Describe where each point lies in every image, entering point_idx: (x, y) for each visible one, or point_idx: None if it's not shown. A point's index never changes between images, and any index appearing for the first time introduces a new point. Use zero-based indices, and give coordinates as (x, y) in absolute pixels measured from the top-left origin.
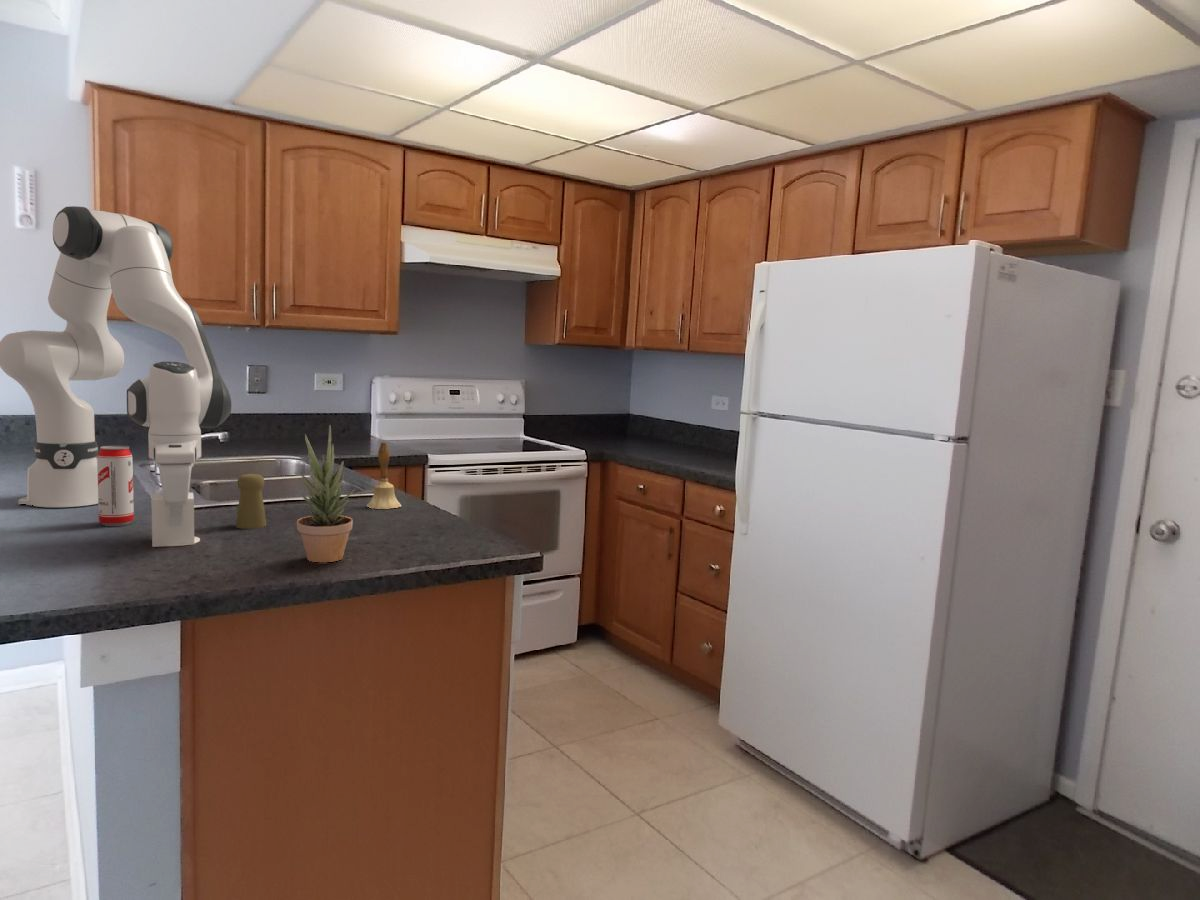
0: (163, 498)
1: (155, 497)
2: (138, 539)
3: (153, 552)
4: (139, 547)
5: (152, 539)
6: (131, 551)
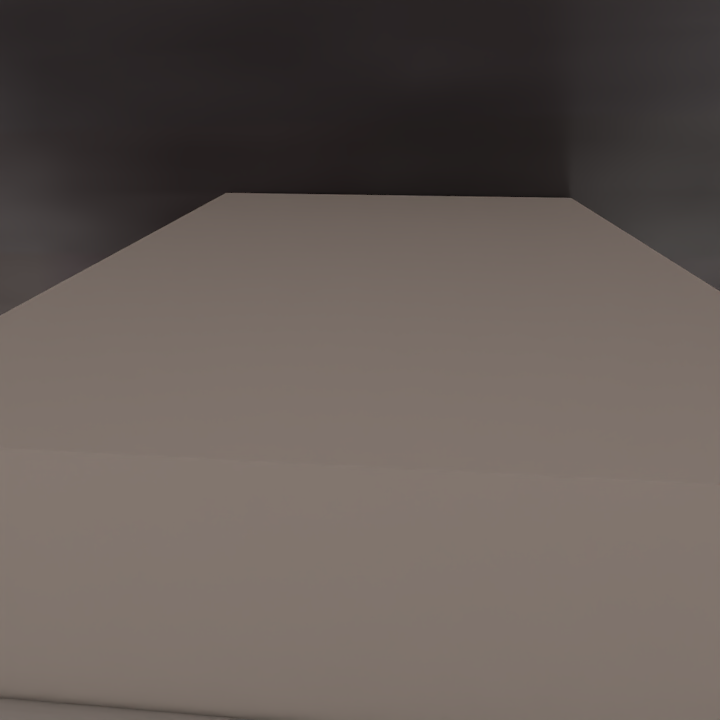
0: (79, 663)
1: (246, 541)
2: (614, 53)
3: (34, 203)
4: (236, 79)
5: (201, 208)
6: (79, 8)
